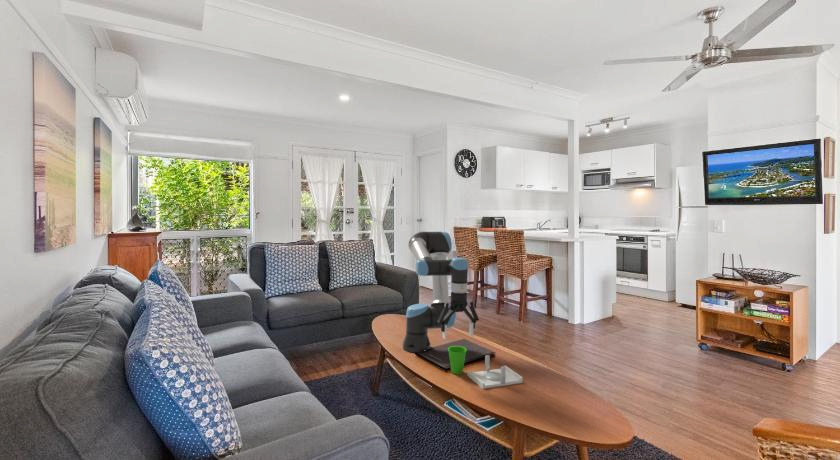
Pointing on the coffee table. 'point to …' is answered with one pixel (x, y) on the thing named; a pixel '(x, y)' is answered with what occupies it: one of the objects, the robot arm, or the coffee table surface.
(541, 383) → the coffee table surface
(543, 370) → the coffee table surface
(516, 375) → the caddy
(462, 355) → the cup
